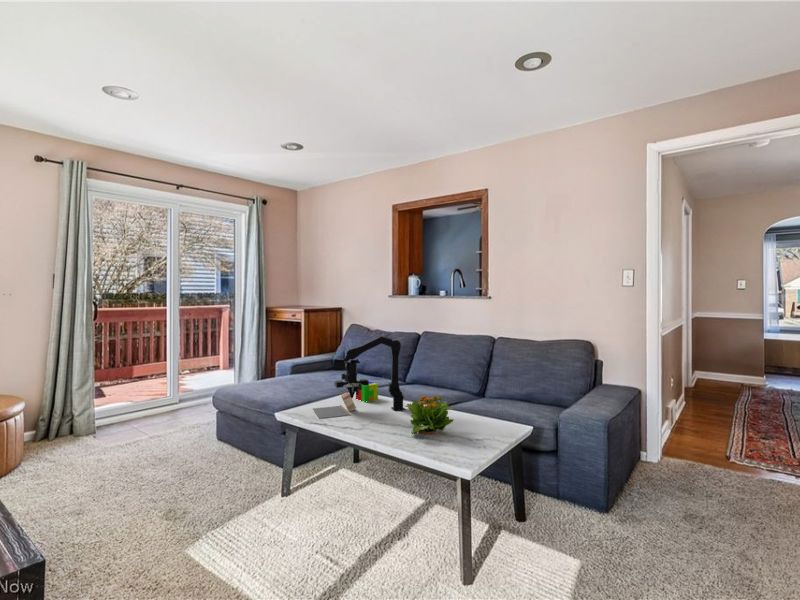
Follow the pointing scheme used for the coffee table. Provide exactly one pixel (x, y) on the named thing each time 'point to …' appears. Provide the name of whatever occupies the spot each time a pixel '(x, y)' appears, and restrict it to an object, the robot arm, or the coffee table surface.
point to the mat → (331, 412)
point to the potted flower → (429, 415)
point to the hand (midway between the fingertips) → (351, 398)
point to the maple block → (348, 401)
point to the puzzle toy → (367, 392)
